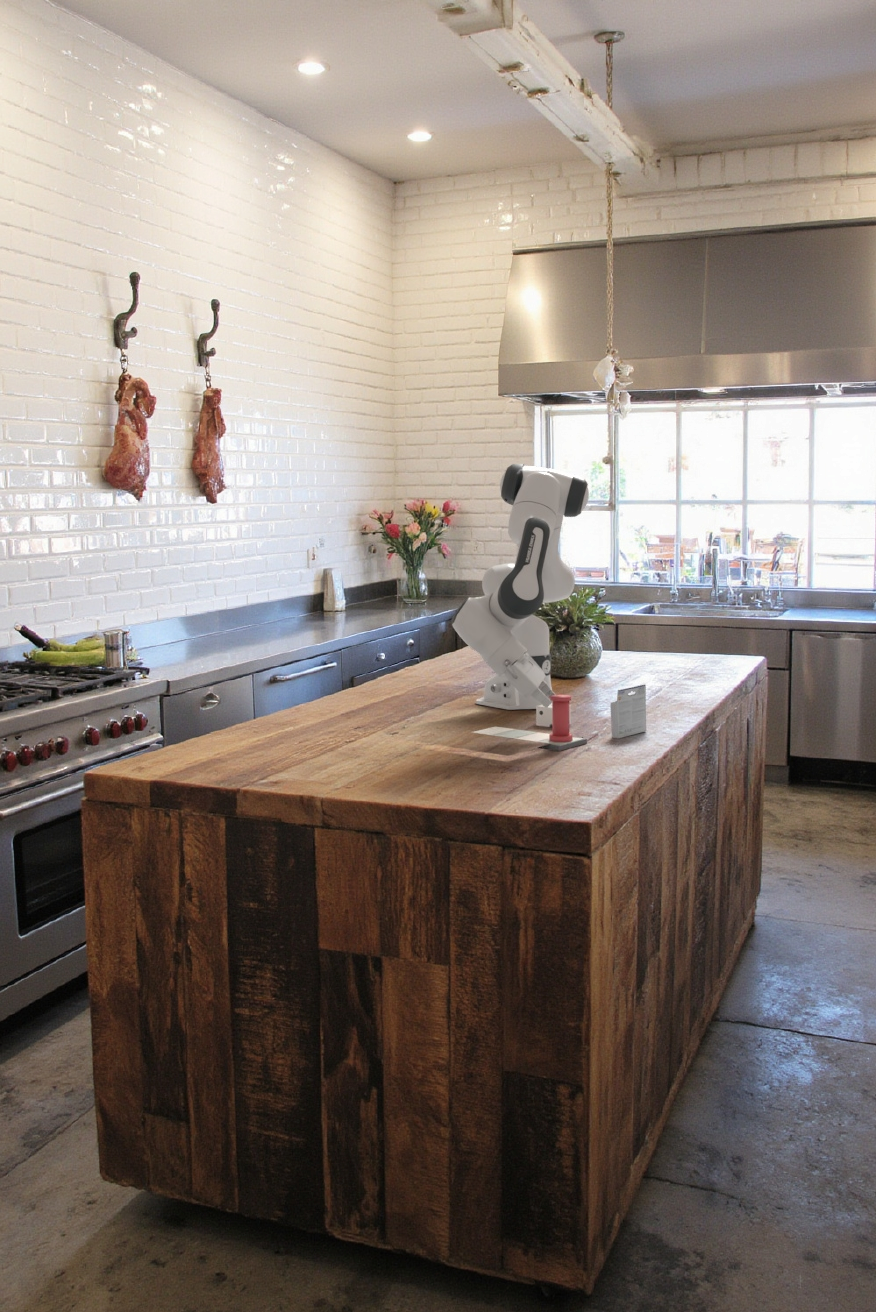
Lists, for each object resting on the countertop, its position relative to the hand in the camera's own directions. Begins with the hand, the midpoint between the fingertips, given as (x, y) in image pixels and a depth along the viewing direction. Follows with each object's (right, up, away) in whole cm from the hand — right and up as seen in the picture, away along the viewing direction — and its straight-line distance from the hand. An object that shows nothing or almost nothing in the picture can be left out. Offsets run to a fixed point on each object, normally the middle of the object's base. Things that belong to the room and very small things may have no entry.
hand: (551, 701), depth 261 cm
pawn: (+2, -9, +1) cm, 9 cm away
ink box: (+19, -9, +12) cm, 24 cm away
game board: (-5, -9, +7) cm, 13 cm away
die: (+2, -8, +20) cm, 22 cm away
